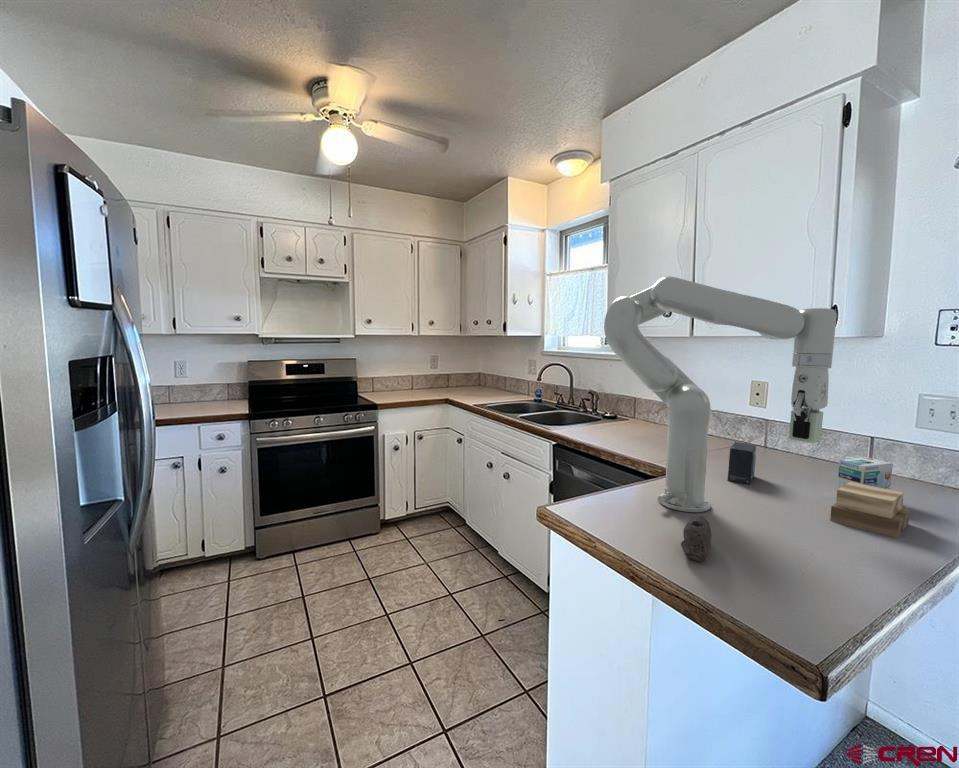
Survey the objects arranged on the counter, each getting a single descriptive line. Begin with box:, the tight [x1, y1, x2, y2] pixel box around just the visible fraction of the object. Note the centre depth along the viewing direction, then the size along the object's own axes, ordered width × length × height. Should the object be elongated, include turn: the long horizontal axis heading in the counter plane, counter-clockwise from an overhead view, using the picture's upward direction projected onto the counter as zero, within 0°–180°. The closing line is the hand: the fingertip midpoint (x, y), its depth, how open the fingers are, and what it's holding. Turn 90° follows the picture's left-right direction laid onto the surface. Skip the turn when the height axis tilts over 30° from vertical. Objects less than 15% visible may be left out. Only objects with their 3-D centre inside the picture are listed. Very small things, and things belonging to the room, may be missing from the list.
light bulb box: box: [836, 456, 894, 490], centre depth 121 cm, size 11×7×11 cm, turn 105°
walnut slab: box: [829, 502, 910, 539], centre depth 106 cm, size 12×12×4 cm
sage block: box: [788, 410, 824, 444], centre depth 107 cm, size 5×5×7 cm
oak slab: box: [835, 482, 905, 519], centre depth 106 cm, size 10×10×4 cm
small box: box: [727, 441, 757, 485], centre depth 138 cm, size 11×6×10 cm, turn 143°
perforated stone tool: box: [680, 515, 712, 563], centre depth 92 cm, size 15×5×7 cm, turn 147°
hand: (804, 435), depth 107 cm, fingers closed on sage block, 5 cm apart
